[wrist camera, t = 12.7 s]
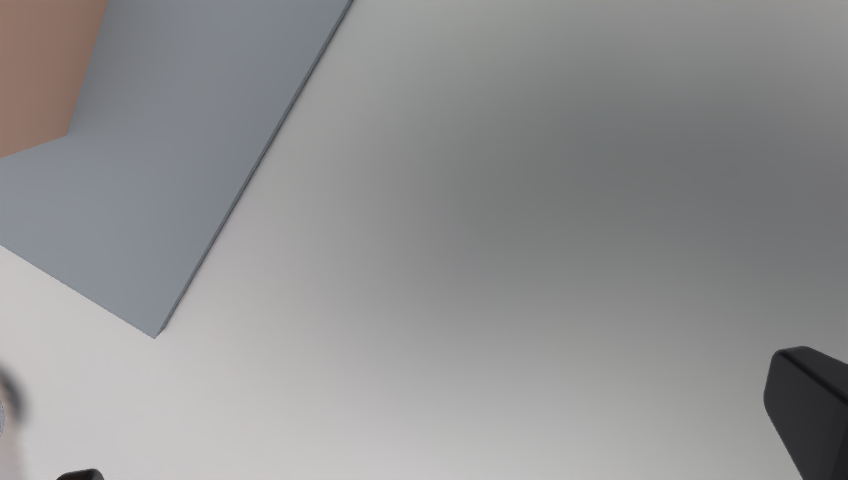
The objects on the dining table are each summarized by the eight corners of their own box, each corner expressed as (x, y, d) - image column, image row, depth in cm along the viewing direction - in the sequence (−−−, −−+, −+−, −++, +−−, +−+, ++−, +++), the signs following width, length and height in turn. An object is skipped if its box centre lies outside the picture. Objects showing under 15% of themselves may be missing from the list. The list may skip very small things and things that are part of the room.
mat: (403, -89, 17) (400, -91, 17) (161, 331, 22) (154, 339, 22) (-122, -460, 16) (-141, -472, 15) (-259, 73, 21) (-276, 75, 20)
